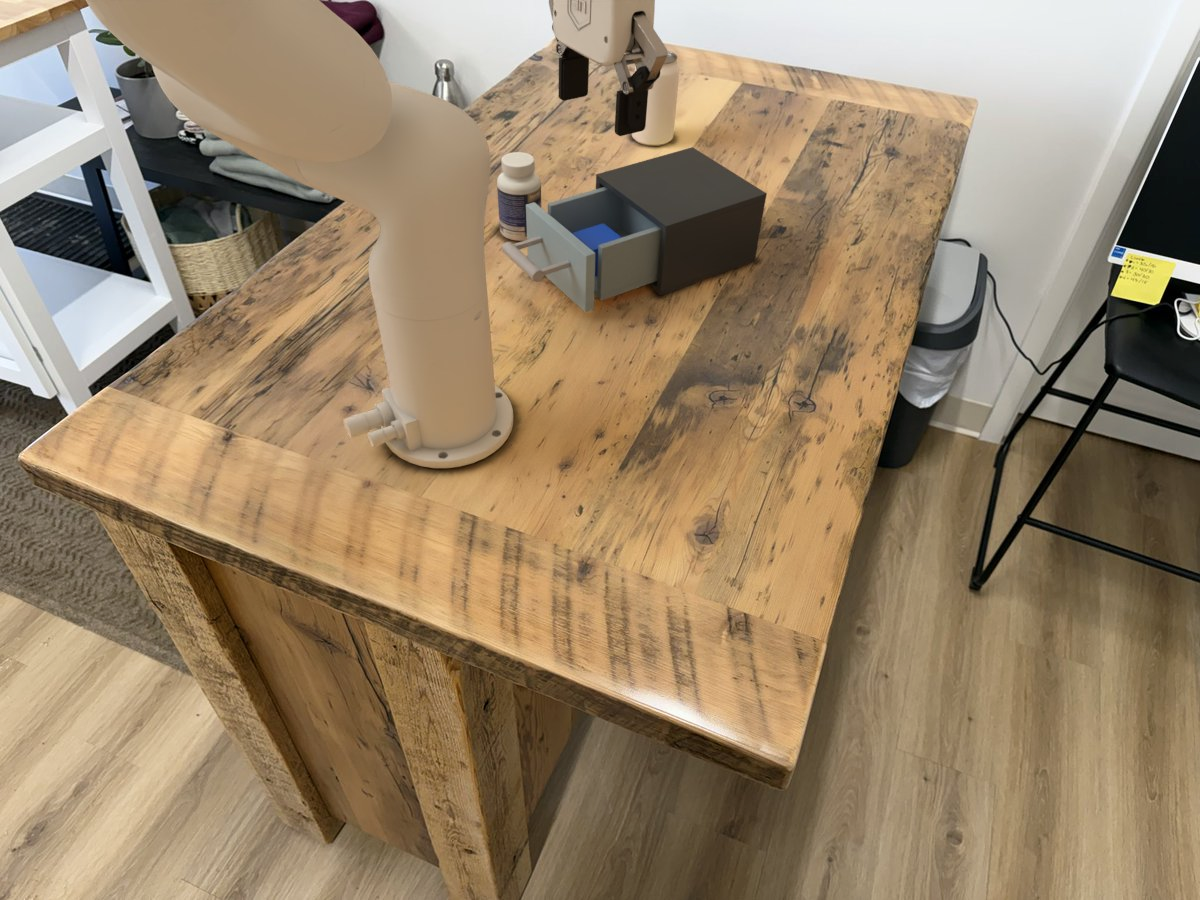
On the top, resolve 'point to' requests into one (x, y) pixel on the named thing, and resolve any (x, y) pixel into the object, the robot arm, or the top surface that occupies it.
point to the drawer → (575, 262)
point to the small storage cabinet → (692, 214)
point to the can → (661, 106)
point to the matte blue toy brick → (596, 238)
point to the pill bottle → (517, 193)
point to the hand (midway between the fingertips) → (600, 114)
